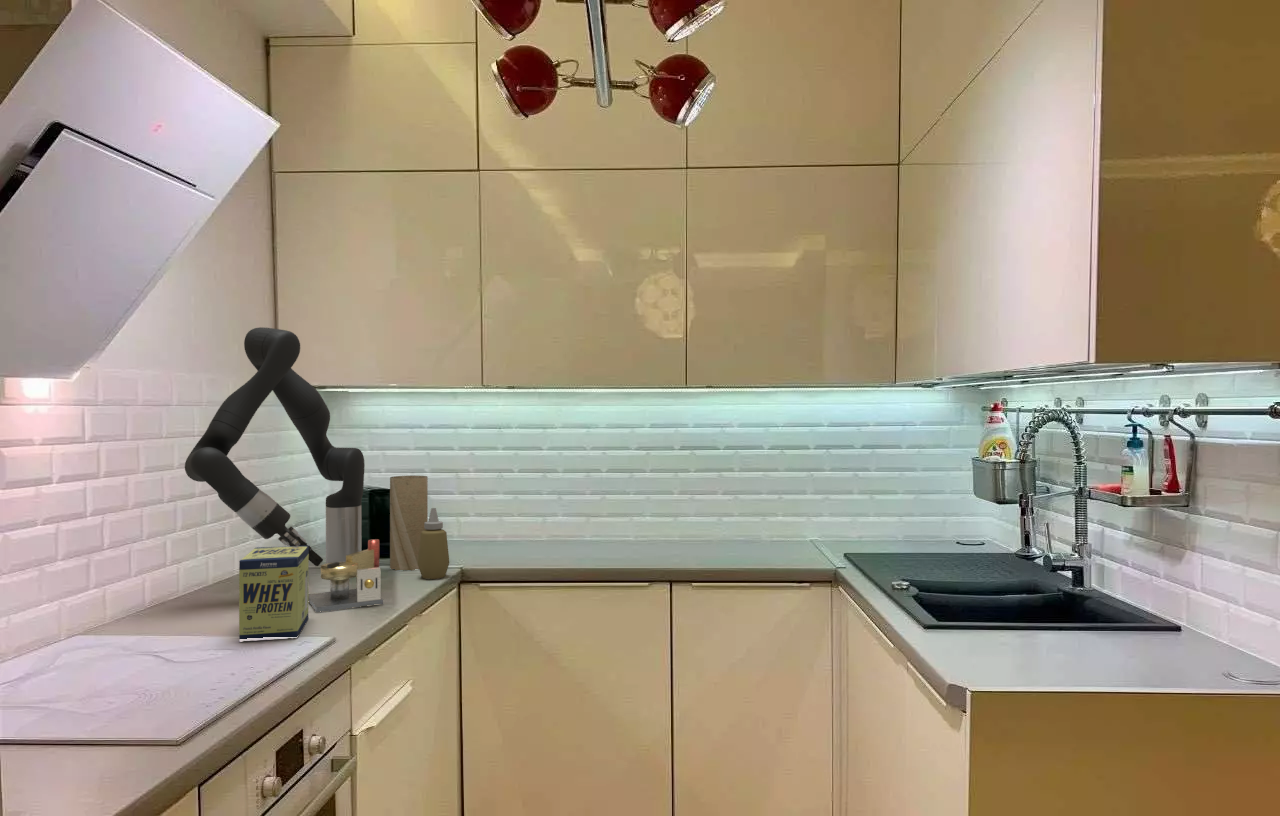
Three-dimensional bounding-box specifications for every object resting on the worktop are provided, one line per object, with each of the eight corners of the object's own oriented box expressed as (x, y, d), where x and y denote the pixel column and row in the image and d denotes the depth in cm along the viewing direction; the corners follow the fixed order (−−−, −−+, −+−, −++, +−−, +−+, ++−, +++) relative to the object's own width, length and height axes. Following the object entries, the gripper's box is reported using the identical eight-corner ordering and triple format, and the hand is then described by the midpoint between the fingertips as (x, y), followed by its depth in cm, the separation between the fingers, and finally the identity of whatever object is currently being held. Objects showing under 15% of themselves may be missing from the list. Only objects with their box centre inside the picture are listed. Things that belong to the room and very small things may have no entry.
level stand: (306, 599, 183) (306, 563, 183) (369, 592, 190) (369, 558, 190) (317, 614, 170) (317, 575, 170) (384, 605, 177) (384, 568, 177)
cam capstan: (362, 565, 195) (362, 538, 195) (391, 566, 193) (391, 539, 193) (313, 581, 177) (312, 551, 177) (344, 582, 175) (344, 553, 175)
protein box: (238, 643, 149) (238, 560, 149) (254, 622, 164) (254, 546, 164) (298, 639, 151) (298, 557, 151) (309, 618, 166) (309, 544, 166)
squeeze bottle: (423, 582, 201) (423, 511, 201) (413, 576, 208) (413, 507, 208) (454, 578, 206) (454, 508, 206) (443, 572, 212) (443, 505, 212)
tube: (408, 572, 214) (408, 479, 214) (382, 568, 219) (382, 477, 219) (435, 565, 222) (435, 476, 222) (409, 562, 227) (409, 475, 227)
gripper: (279, 504, 177) (337, 554, 183) (272, 499, 188) (326, 546, 194) (252, 530, 174) (312, 580, 180) (247, 523, 185) (303, 570, 191)
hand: (319, 562), depth 187 cm, fingers closed
